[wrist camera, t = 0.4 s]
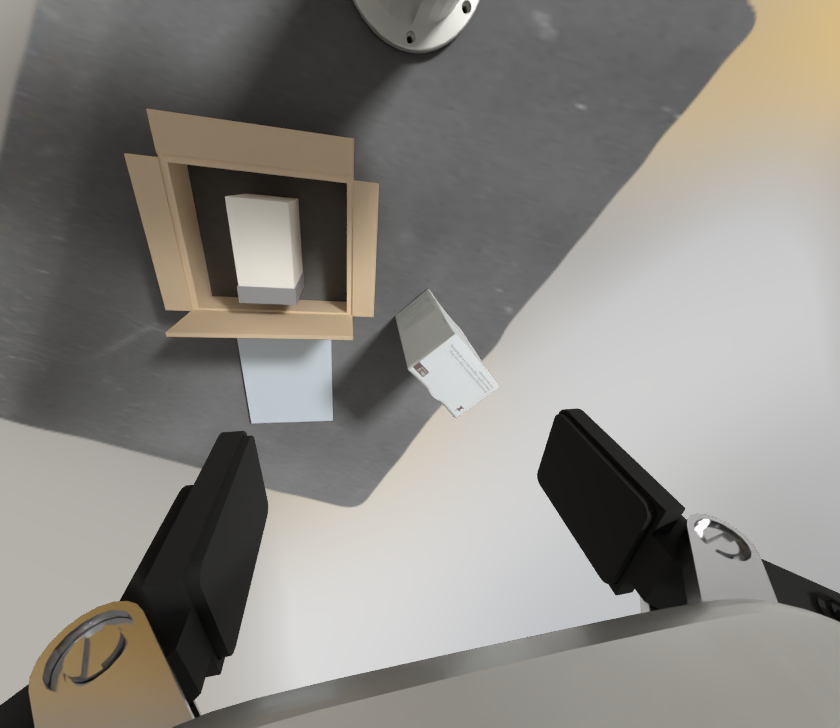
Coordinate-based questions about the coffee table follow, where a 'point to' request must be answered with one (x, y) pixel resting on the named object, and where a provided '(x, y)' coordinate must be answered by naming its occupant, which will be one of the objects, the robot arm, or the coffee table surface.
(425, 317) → the skincare box
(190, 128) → the carton
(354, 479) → the coffee table surface
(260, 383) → the felt mat
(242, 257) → the box
